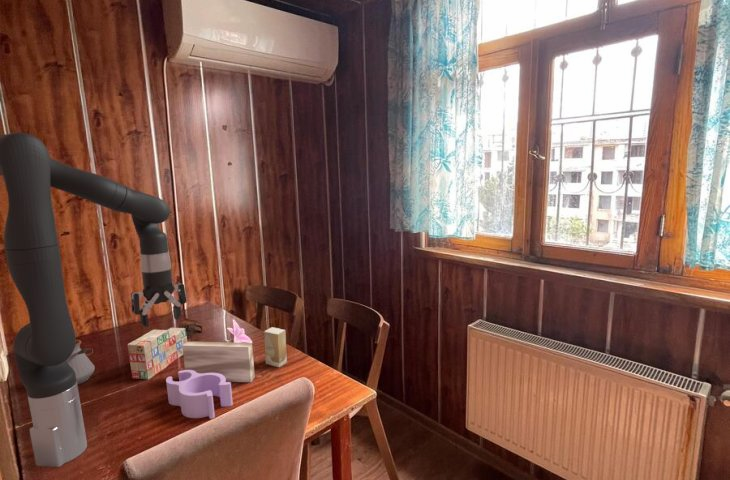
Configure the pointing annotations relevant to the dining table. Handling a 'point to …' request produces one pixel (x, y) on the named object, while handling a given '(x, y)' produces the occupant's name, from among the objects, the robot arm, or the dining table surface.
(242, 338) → the lily
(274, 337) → the skincare box
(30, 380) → the robot arm
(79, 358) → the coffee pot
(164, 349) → the stack of blocks
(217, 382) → the clip
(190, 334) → the pottery mug
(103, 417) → the dining table surface
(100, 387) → the dining table surface
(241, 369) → the board
